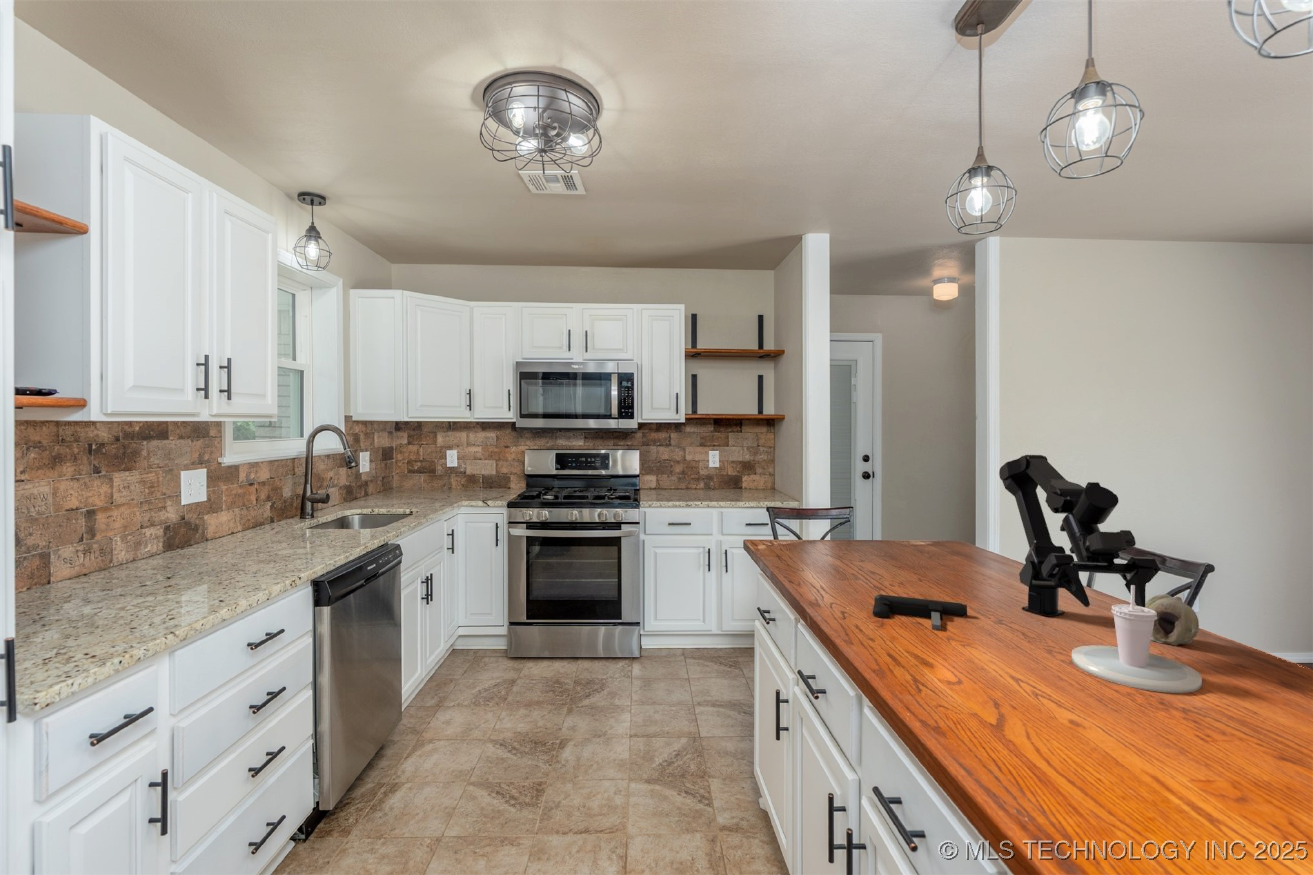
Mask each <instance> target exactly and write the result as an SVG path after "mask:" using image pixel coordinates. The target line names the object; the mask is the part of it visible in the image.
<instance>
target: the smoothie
mask: <svg viewBox="0 0 1313 875" xmlns="http://www.w3.org/2000/svg"><path fill="white" fill-rule="evenodd" d="M1110 612H1111V613H1112V614H1113V620H1114V627H1115V634H1116V643H1117V647H1118V651H1119V659H1120V662H1121V663H1123V664H1126V665H1129V666H1133V667H1146V664H1147V659H1148V654H1149V653H1150V652H1149V651H1150V648H1151V644H1152V643H1151V642H1152V640H1151V637H1152V632H1153V626H1154V621H1155V620H1156V619H1157V613H1156V612H1155V611H1153V610H1151V609H1148V608H1144V607H1140V606H1137V605H1136V603H1135V586H1134V585H1131V595H1130V604H1123V603H1121V604H1120V603H1119V604H1113V605H1111V610H1110Z"/></svg>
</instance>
